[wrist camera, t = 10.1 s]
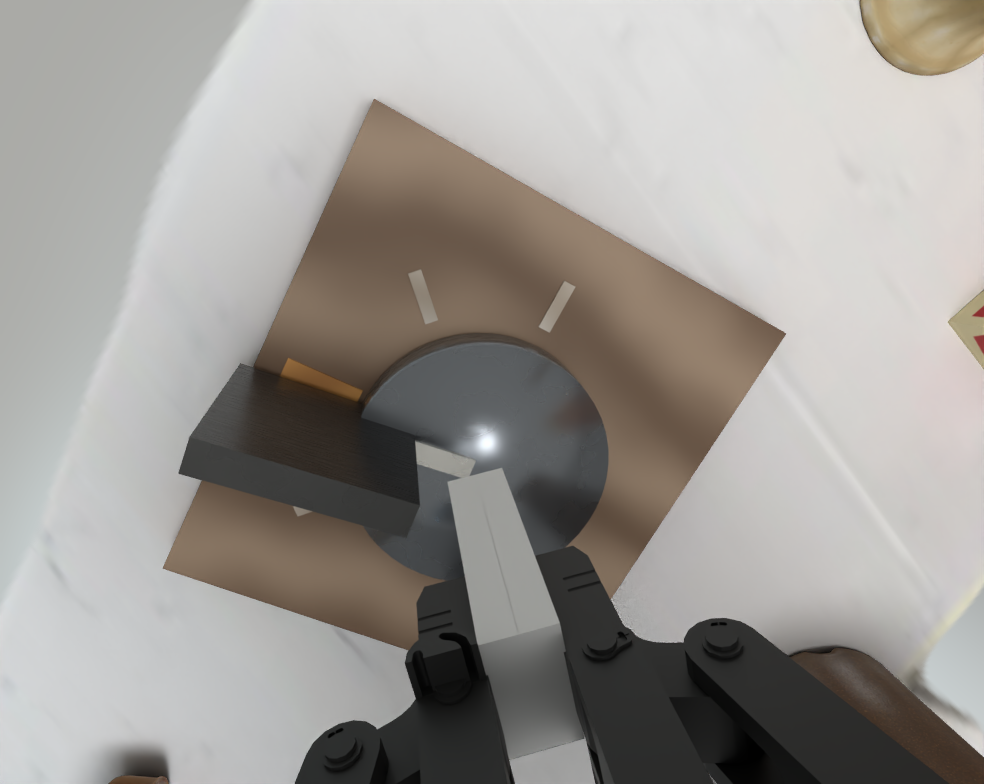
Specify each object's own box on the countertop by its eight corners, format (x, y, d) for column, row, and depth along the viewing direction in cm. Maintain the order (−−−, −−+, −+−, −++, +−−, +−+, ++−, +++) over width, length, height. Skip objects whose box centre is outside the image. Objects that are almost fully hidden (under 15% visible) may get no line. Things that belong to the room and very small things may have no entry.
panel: (539, 671, 41) (547, 697, 39) (174, 545, 35) (161, 569, 33) (765, 323, 35) (787, 334, 33) (375, 101, 29) (374, 98, 27)
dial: (637, 383, 33) (712, 456, 25) (537, 584, 36) (577, 704, 28) (278, 247, 29) (235, 286, 21) (200, 490, 32) (139, 601, 24)
